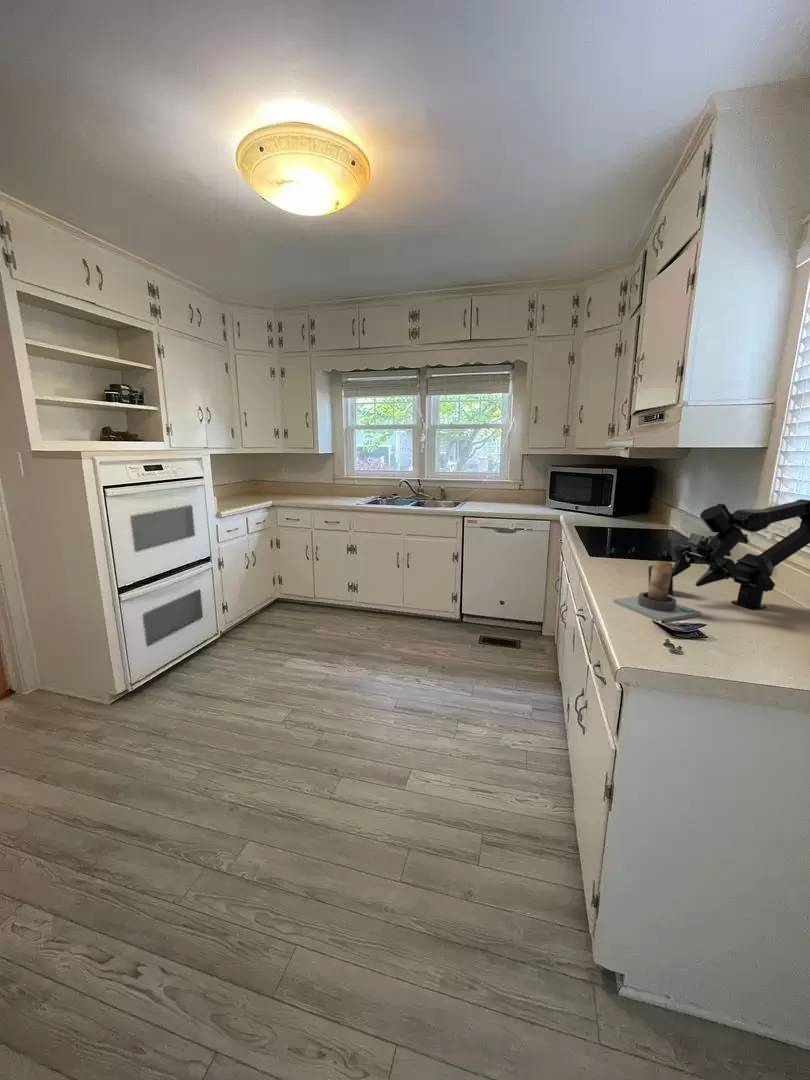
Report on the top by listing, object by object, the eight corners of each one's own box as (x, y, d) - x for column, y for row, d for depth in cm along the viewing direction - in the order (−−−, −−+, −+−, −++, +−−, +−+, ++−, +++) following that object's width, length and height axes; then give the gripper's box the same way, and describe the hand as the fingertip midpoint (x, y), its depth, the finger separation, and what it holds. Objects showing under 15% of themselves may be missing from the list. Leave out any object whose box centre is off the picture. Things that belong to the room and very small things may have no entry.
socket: (651, 596, 137) (652, 586, 136) (700, 615, 122) (702, 603, 122) (613, 602, 131) (614, 591, 130) (660, 622, 117) (662, 610, 116)
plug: (662, 603, 128) (669, 561, 126) (668, 609, 124) (675, 566, 121) (644, 601, 130) (650, 560, 127) (649, 607, 125) (655, 564, 122)
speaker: (675, 591, 142) (676, 561, 140) (672, 596, 138) (674, 565, 136) (649, 588, 147) (650, 559, 145) (646, 593, 143) (647, 563, 141)
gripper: (682, 519, 133) (646, 554, 133) (738, 531, 115) (696, 571, 115) (700, 543, 136) (664, 577, 136) (757, 558, 118) (716, 598, 118)
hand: (683, 580), depth 126 cm, fingers open, 9 cm apart
